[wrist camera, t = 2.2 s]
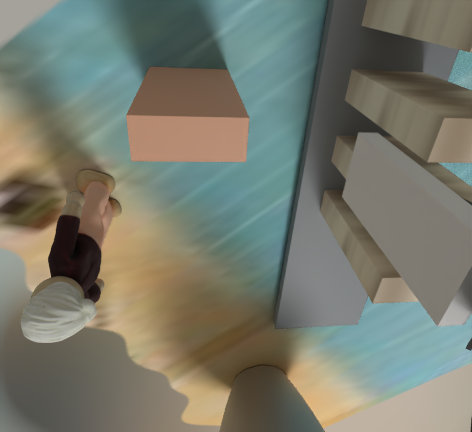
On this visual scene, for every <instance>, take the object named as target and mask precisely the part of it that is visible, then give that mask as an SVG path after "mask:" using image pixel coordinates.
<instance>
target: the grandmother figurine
mask: <svg viewBox="0 0 472 432" xmlns="http://www.w3.org/2000/svg"><path fill="white" fill-rule="evenodd" d="M76 185H77V187H78V188H79V190H80V191H81V192H83V193H84V195H83V194H82V193H80V192H77V191H74V192H71V193H69V194H68V196H67V198H66V203H67V204H66V205H65V206H64V208H63V211H62V214H61V216H60V217H59V219H58V222H57V227H56V234H55V238H54V242H53V245H52V247H51V251H50V254H49V257H48V262H49V268H50V273H51V278H49V279H47V280H45V281H43V282H42V283H40V284H39V285H38V286H37V287H36V289H35V290H34V292H33V294H32V296H31V300H30V303H29V304H28V305H26V306H25V308H24V311H23V315H22V317H21V327H22V330H23V334H24V336H25V337H26V338H28V339H30V340H32V341H34V342H40V343H49V342H57V341H61V340H64V339H66V338H68V337H70V336H72V335H74V334H75V333H76V332H78V331H79V330H81V329H82V328H83V327H84V326H85V324H86V323H87V322H89V321H91V320H92V319H93V318H94V317H95V315H96V313H97V309H96V307H95V303H96V302H97V301H98V300H99V298H100V294H101V291H102V290H103V289H104V282H103V280H101V279H99V278H97V277H98V274H99V272H100V265H101V247H102V245H103V243H104V239H105V237H106V234H107V232H108V228H109V226H110V224H111V221H112V219H113V218H114V217H117V216H119V215H120V214H121V206H120V204H119V203H118V202H117V201H115V200H112V199H109V194H110V193H111V192H113V190H114V189H115V181H114V179H113V178H112V177H110V176H108V175H106V174H102V173H99V172H96V171H92V170H82V171H80V172H79V173H78V175H77V177H76Z"/></svg>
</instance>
